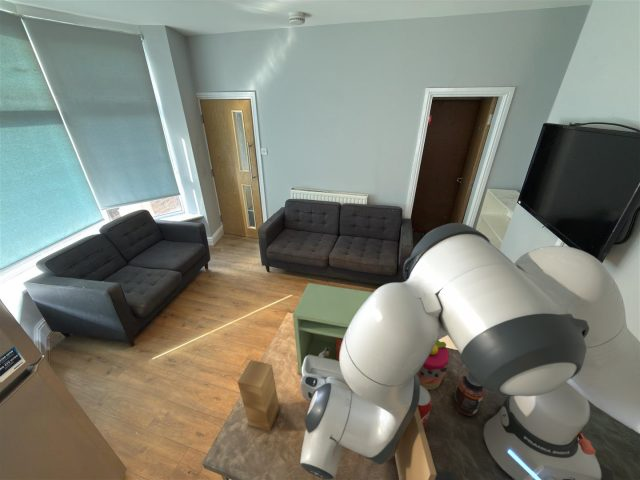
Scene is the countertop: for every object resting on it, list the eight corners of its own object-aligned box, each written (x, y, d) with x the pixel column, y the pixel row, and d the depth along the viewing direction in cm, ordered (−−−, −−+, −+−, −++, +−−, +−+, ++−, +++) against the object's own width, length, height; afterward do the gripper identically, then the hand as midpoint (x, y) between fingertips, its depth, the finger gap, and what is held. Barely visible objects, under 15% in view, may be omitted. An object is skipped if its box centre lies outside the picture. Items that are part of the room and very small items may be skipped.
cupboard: (386, 393, 74) (395, 332, 63) (298, 373, 81) (292, 314, 69) (387, 353, 86) (396, 295, 75) (311, 338, 93) (308, 282, 81)
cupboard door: (406, 396, 74) (420, 335, 62) (441, 533, 50) (473, 475, 39) (384, 396, 74) (393, 335, 63) (408, 532, 50) (430, 474, 39)
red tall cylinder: (354, 355, 85) (356, 328, 79) (352, 370, 80) (353, 343, 74) (337, 351, 86) (337, 324, 80) (333, 366, 81) (333, 339, 76)
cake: (448, 391, 75) (460, 355, 68) (410, 390, 75) (419, 355, 68) (434, 359, 84) (444, 325, 77) (401, 358, 84) (408, 325, 77)
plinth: (279, 407, 72) (272, 364, 63) (270, 431, 67) (261, 387, 58) (259, 402, 73) (249, 359, 65) (248, 424, 68) (237, 381, 60)
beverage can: (426, 438, 64) (435, 410, 59) (400, 433, 66) (406, 405, 60) (423, 412, 70) (430, 384, 64) (398, 407, 71) (404, 379, 65)
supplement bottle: (481, 416, 69) (493, 390, 63) (458, 416, 69) (468, 390, 63) (470, 394, 74) (480, 368, 69) (448, 394, 74) (457, 368, 69)
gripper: (376, 399, 61) (380, 351, 73) (294, 379, 66) (310, 337, 78) (374, 414, 64) (378, 365, 76) (296, 394, 69) (311, 351, 81)
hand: (343, 351), depth 77 cm, fingers open, 8 cm apart
